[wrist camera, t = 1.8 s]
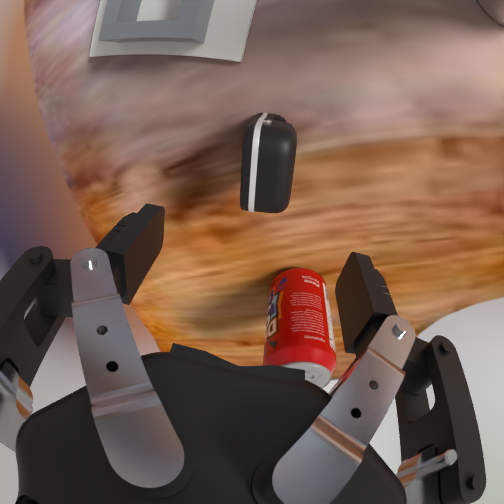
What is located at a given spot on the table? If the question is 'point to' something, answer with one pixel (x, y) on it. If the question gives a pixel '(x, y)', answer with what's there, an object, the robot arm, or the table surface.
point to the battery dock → (168, 10)
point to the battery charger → (267, 164)
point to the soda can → (300, 325)
